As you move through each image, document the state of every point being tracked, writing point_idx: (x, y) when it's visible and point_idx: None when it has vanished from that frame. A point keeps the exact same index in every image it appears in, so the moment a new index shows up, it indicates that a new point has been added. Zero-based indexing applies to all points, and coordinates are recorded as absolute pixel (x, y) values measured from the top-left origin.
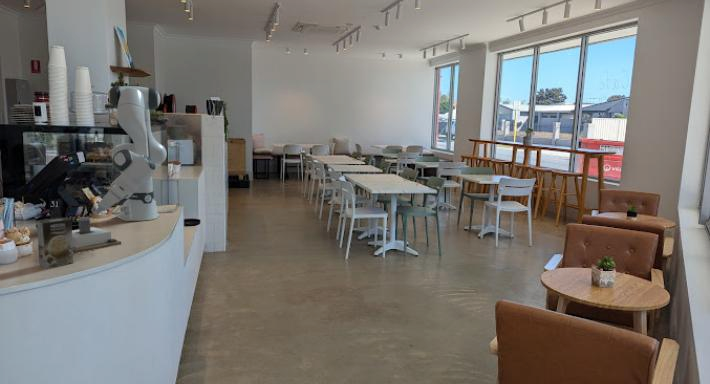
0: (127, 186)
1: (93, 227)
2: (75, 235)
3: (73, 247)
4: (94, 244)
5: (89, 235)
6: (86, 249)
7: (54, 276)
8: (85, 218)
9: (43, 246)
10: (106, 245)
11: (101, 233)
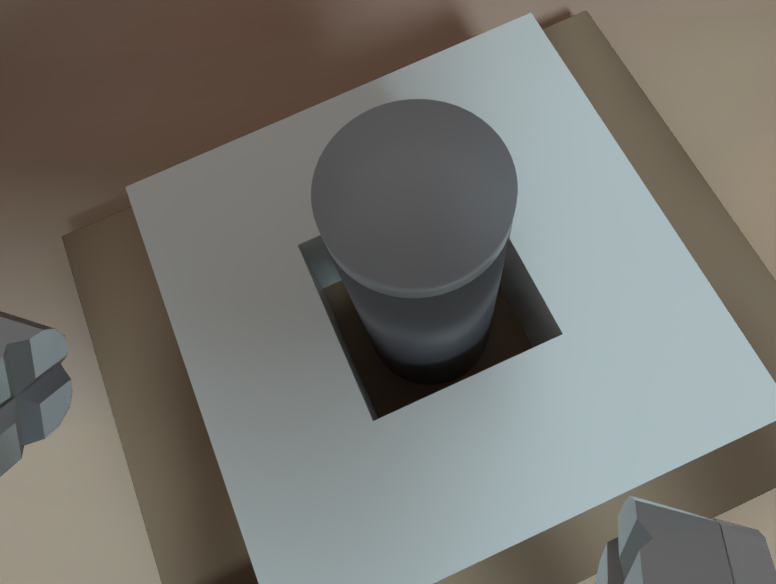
0: None
1: (752, 412)
2: (270, 182)
3: None
4: None
5: (178, 336)
6: (92, 328)
7: None
8: (334, 211)
9: None
10: (156, 543)
11: (232, 499)
